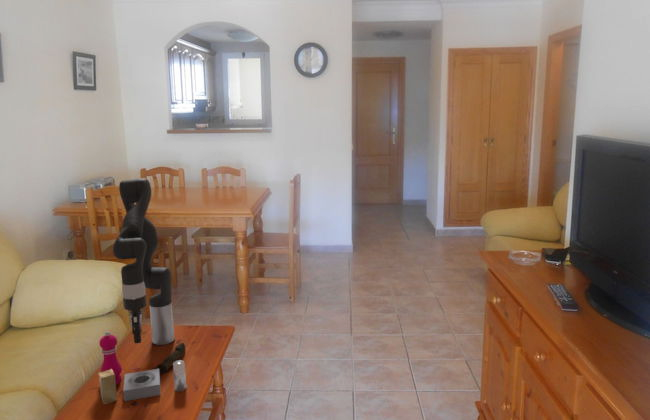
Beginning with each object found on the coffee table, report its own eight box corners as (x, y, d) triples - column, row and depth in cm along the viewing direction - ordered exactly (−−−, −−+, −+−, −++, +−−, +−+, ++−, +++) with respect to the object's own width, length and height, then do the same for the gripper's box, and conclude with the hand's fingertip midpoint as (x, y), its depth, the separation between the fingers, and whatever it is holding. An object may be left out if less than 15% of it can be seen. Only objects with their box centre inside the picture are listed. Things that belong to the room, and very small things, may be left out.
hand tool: (166, 374, 192) (165, 363, 192) (156, 373, 194) (156, 362, 193) (191, 352, 210) (190, 341, 210) (182, 351, 211) (181, 340, 211)
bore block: (125, 384, 186) (124, 374, 185) (159, 378, 189) (159, 368, 189) (124, 401, 174) (123, 390, 174) (160, 394, 178) (159, 384, 177)
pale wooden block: (101, 398, 176) (98, 372, 174) (114, 394, 179) (111, 369, 177) (103, 404, 173) (100, 378, 171) (117, 400, 175) (114, 374, 173)
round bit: (174, 386, 184) (172, 361, 182) (186, 384, 185) (184, 359, 183) (175, 392, 180) (173, 366, 178) (186, 390, 181) (184, 364, 179)
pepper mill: (127, 378, 190) (122, 328, 186) (113, 388, 183) (108, 337, 179) (111, 375, 192) (106, 326, 188) (97, 385, 185) (91, 334, 181)
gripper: (123, 288, 180) (127, 331, 183) (121, 302, 167) (125, 348, 170) (145, 286, 183) (149, 328, 186) (145, 299, 169) (149, 344, 173)
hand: (138, 337), depth 178 cm, fingers open, 8 cm apart
